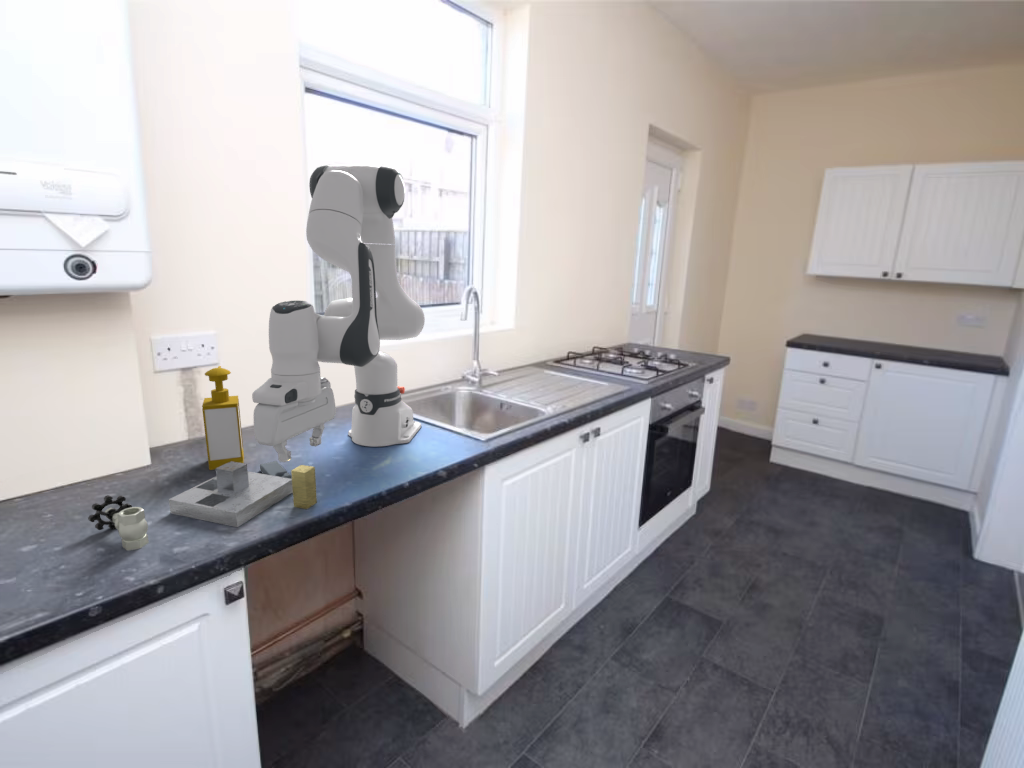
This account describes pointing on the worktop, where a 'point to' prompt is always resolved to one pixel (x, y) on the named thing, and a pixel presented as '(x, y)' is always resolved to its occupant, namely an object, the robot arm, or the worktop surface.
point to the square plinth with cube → (231, 495)
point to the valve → (123, 522)
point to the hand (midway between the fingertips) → (301, 452)
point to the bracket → (274, 470)
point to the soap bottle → (222, 423)
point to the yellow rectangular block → (304, 486)
